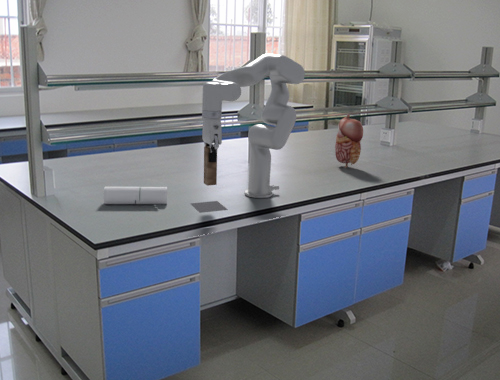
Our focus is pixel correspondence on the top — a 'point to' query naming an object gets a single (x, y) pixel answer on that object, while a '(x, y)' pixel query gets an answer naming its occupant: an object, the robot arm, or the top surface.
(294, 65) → the robot arm
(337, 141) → the anatomical model
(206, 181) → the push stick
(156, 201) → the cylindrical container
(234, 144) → the top surface
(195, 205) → the mat
